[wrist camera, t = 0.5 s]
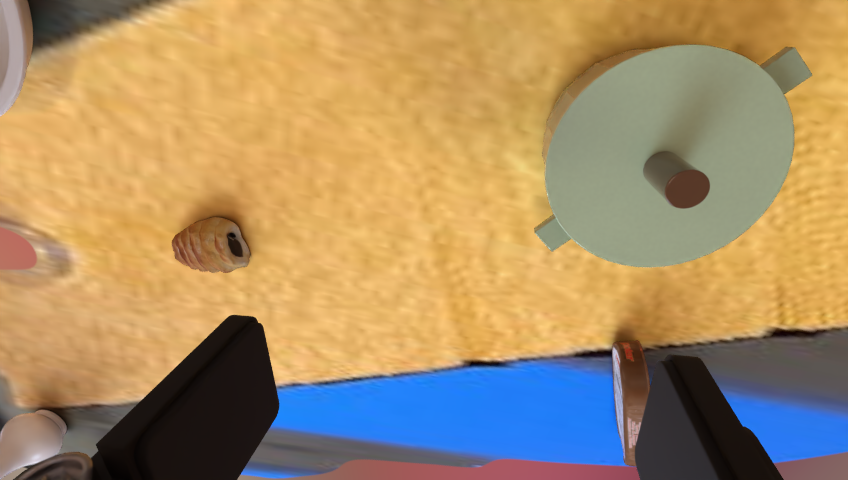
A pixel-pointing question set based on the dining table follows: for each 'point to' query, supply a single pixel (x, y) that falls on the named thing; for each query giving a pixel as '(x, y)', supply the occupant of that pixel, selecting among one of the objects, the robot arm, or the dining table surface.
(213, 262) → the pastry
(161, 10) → the dining table surface
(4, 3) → the soup bowl
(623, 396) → the tin
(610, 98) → the pot lid
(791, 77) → the casserole
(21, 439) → the flower vase
